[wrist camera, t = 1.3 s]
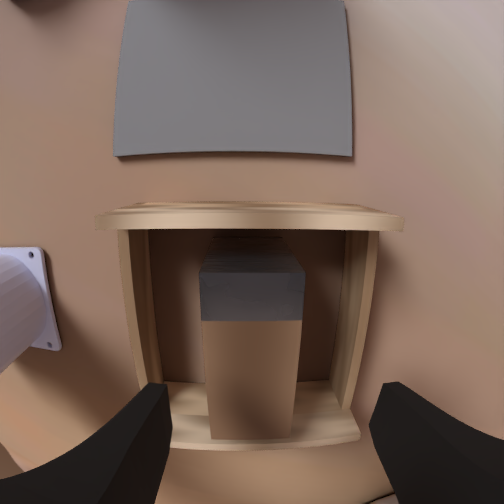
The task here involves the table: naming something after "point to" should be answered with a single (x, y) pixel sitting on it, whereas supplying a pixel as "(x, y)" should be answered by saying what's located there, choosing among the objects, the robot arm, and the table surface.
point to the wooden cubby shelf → (307, 393)
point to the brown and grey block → (251, 336)
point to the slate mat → (234, 78)
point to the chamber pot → (387, 500)
